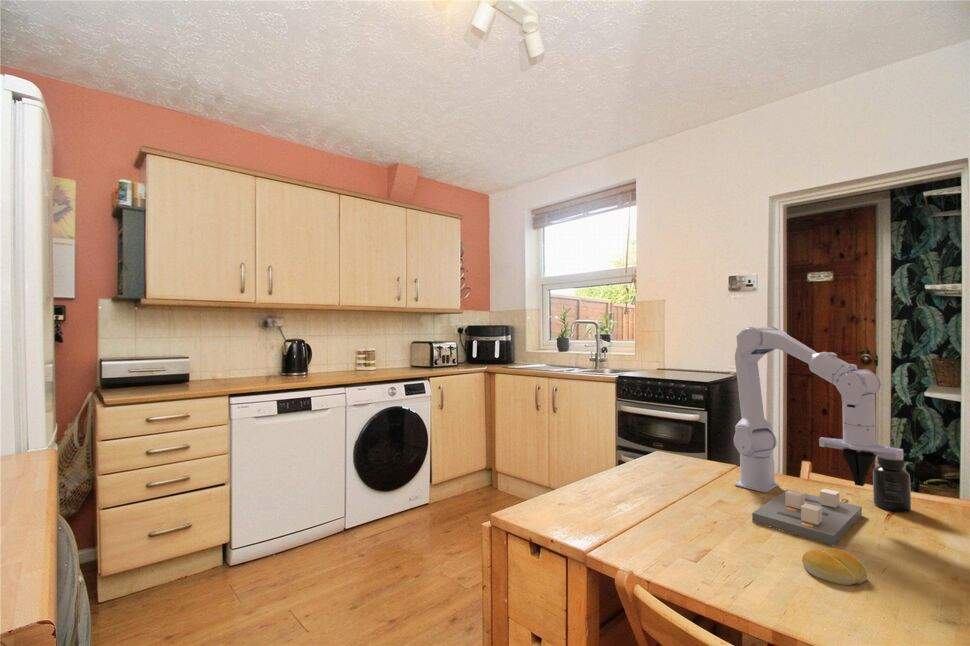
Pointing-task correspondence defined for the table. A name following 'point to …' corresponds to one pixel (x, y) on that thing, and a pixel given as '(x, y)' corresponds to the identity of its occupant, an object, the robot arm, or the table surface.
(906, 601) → the table surface
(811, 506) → the block
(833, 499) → the block
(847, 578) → the bread roll
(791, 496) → the slider middle
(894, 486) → the supplement bottle
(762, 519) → the switch panel
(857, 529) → the table surface
